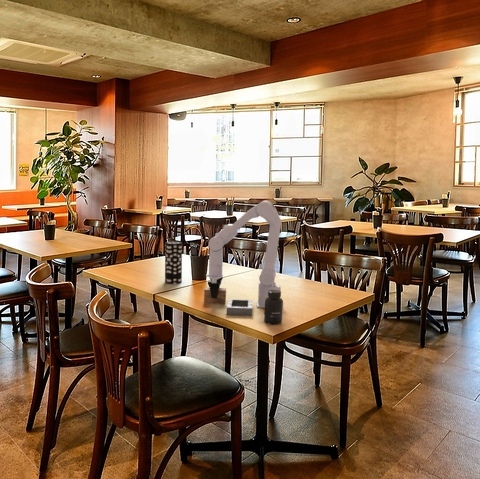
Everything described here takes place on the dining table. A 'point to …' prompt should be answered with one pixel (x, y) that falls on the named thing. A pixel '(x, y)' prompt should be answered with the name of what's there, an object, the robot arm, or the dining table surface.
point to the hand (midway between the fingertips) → (214, 295)
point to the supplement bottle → (273, 308)
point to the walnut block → (219, 300)
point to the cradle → (239, 307)
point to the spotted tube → (173, 262)
